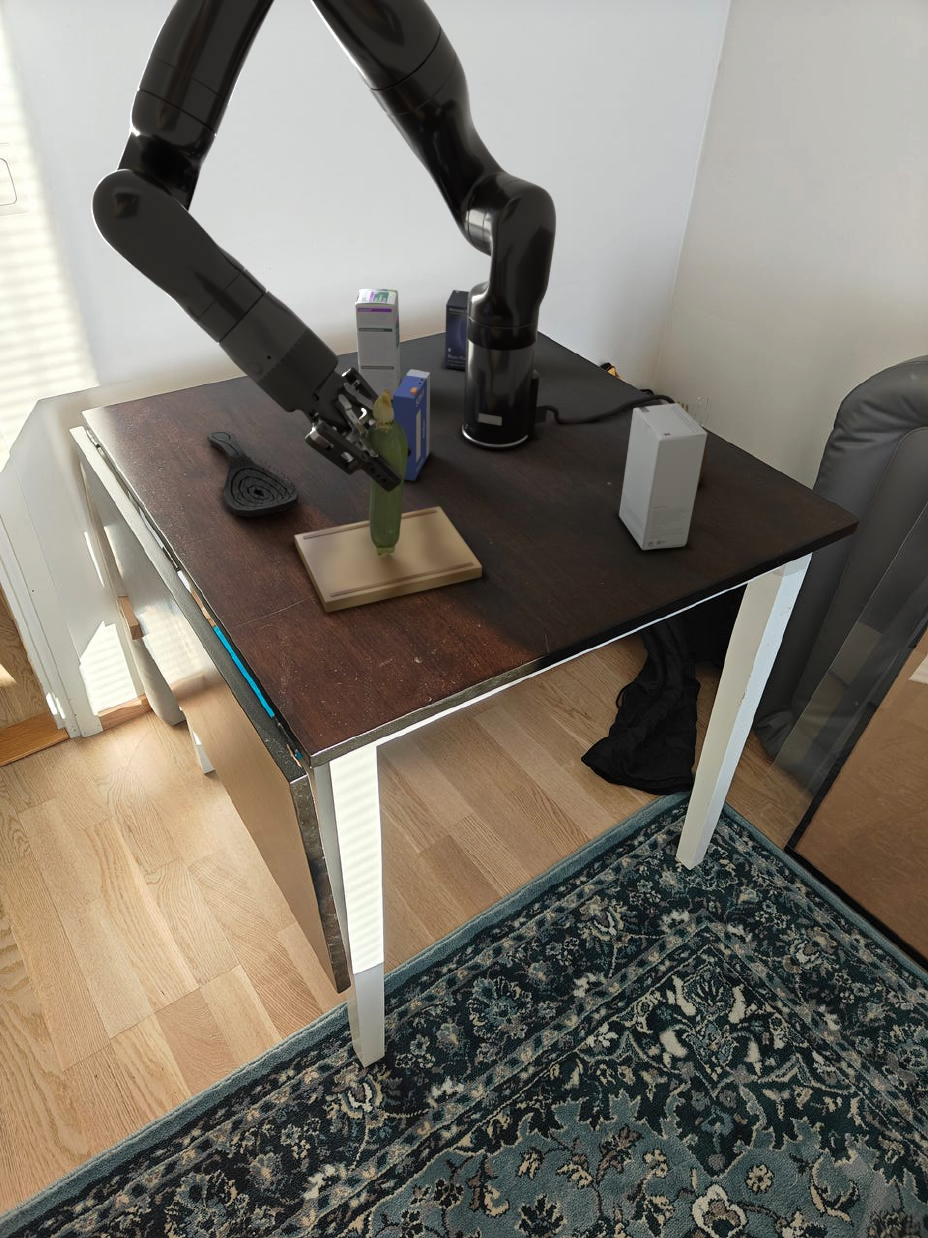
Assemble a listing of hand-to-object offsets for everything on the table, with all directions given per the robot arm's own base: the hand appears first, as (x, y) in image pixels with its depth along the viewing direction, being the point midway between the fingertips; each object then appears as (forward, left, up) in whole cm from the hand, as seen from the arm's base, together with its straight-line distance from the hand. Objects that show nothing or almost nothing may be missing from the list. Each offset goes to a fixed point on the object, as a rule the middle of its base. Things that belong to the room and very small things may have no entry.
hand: (401, 470), depth 91 cm
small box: (-29, -46, -12) cm, 56 cm away
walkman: (-8, -20, -12) cm, 25 cm away
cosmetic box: (-30, +4, -12) cm, 33 cm away
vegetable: (+1, -1, -11) cm, 11 cm away
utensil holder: (-40, -5, -12) cm, 43 cm away
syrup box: (-11, -42, -12) cm, 45 cm away
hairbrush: (+13, -24, -12) cm, 30 cm away
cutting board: (+2, -1, -12) cm, 12 cm away
